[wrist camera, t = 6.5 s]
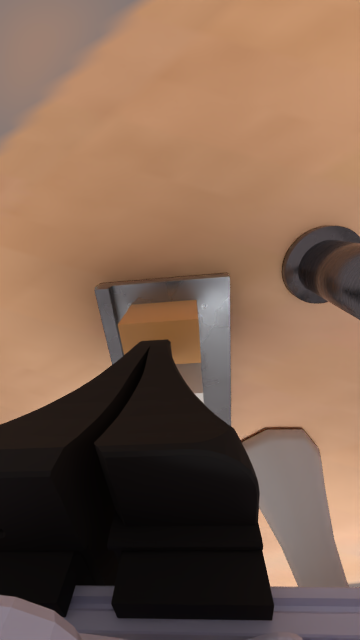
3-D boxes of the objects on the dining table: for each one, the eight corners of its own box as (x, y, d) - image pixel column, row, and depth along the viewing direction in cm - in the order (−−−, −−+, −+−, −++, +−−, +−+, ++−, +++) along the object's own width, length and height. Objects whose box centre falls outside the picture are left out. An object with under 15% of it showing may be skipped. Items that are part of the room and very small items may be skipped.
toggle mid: (200, 362, 16) (203, 392, 13) (202, 392, 17) (205, 426, 14) (142, 366, 16) (132, 396, 13) (147, 395, 17) (139, 428, 14)
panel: (227, 272, 14) (231, 278, 13) (229, 437, 20) (232, 454, 18) (100, 283, 15) (91, 290, 13) (136, 440, 20) (131, 457, 19)
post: (366, 222, 13) (495, 223, 8) (350, 297, 15) (447, 343, 9) (285, 229, 13) (353, 236, 8) (279, 302, 15) (332, 350, 10)
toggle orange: (196, 299, 14) (198, 318, 11) (198, 336, 15) (201, 362, 12) (131, 304, 14) (117, 324, 12) (137, 340, 15) (126, 367, 13)
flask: (223, 436, 20) (252, 622, 11) (310, 415, 19) (428, 604, 10) (245, 488, 23) (284, 673, 13) (323, 473, 21) (425, 664, 12)
